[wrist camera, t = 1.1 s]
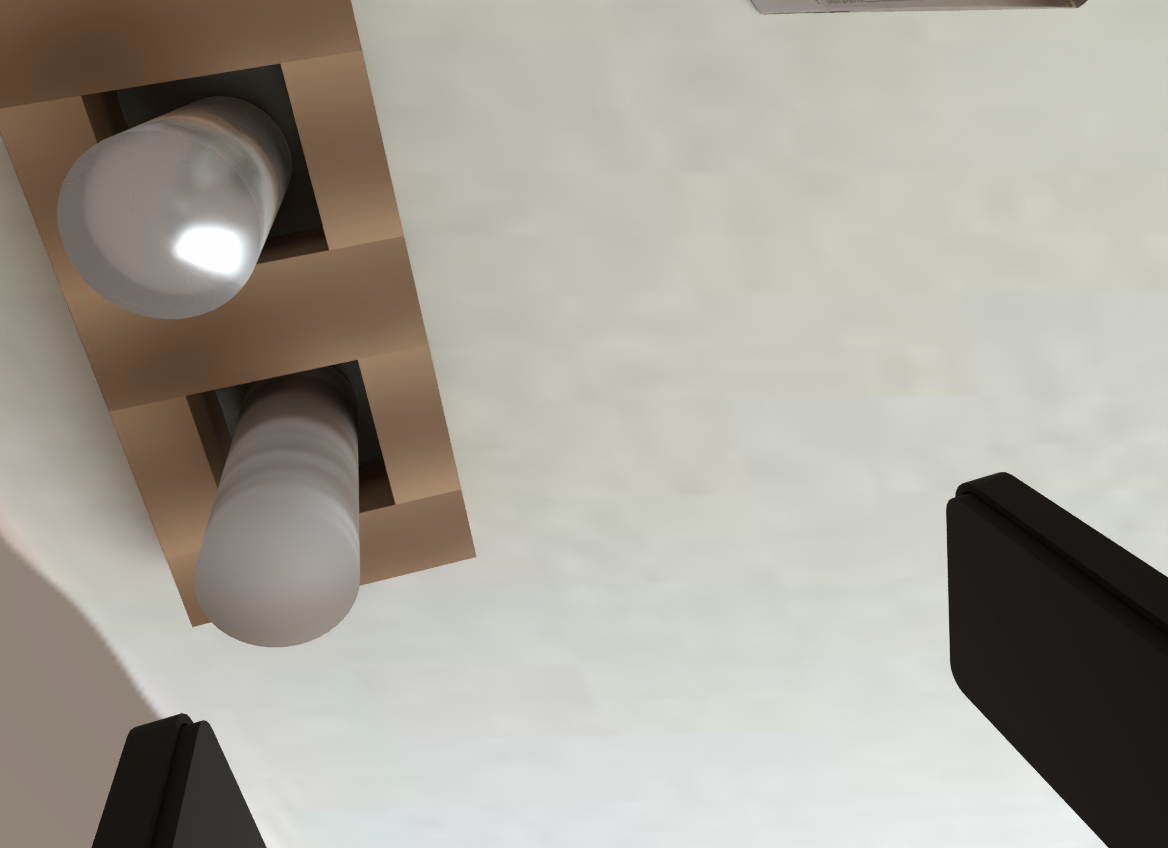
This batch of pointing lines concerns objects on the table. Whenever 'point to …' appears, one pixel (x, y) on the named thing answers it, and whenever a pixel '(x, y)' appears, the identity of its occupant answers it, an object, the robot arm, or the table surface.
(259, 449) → the holder block
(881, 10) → the coffee box
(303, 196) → the table surface
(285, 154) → the steel peg
